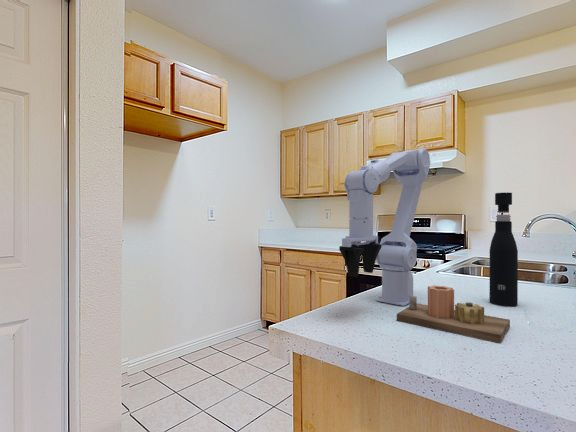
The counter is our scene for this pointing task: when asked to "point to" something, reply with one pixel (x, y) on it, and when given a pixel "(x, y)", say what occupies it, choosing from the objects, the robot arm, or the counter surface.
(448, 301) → the gear
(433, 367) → the counter surface
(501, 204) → the black bottle
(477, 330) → the gear board
